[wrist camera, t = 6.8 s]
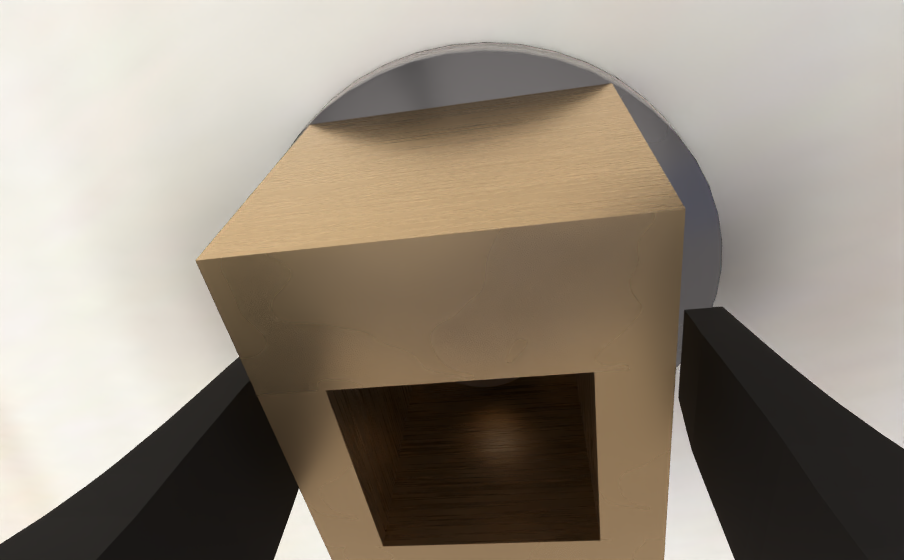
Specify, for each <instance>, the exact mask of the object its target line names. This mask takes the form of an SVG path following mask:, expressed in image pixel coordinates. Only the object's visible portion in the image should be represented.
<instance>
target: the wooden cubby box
mask: <svg viewBox="0 0 904 560" xmlns="http://www.w3.org/2000/svg"><path fill="white" fill-rule="evenodd" d="M685 210H686V209H685V207H684V205H683V204H682V202H681V200H680V199H679V197H678V195H677V194H676V192H675V190H674V188H673V187H672V185H671V183H670V182H669V180H668V178H667V176H666V175H665V173H664V171H663V170H662V168H661V166H660V164H659V163H658V161H657V159H656V158H655V156H654V154H653V153H652V151H651V149H650V147H649V146H648V144H647V142H646V141H645V139H644V137H643V135H642V134H641V132H640V130H639V129H638V127H637V125H636V123H635V122H634V120H633V118H632V117H631V115H630V113H629V112H628V110H627V108H626V106H625V105H624V103H623V101H622V100H621V98H620V96H619V94H618V93H617V91H616V89H615V88H614V86H613V84H612V83H608V84H601V85H593V86H586V87H579V88H571V89H564V90H557V91H550V92H542V93H535V94H528V95H520V96H513V97H506V98H499V99H491V100H484V101H477V102H470V103H462V104H455V105H448V106H440V107H433V108H426V109H419V110H411V111H404V112H397V113H389V114H382V115H375V116H368V117H360V118H353V119H346V120H338V121H331V122H324V123H317V124H310V125H309V126H308V128H307V129H306V130H305V131H304V132H303V133H302V135H301V136H300V137H299V138H298V139H297V141H296V142H295V143H294V144H293V145H292V147H291V148H290V149H289V150H288V151H287V152H286V154H285V155H284V156H283V157H282V158H281V160H280V161H279V162H278V163H277V164H276V166H275V167H274V168H273V169H272V170H271V171H270V173H269V174H268V175H267V176H266V177H265V179H264V180H263V181H262V182H261V183H260V185H259V186H258V187H257V188H256V189H255V190H254V192H253V193H252V194H251V195H250V196H249V198H248V199H247V200H246V201H245V202H244V204H243V205H242V206H241V207H240V208H239V209H238V211H237V212H236V213H235V214H234V215H233V217H232V218H231V219H230V220H229V221H228V223H227V224H226V225H225V226H224V227H223V228H222V230H221V231H220V232H219V233H218V234H217V236H216V237H215V238H214V239H213V240H212V242H211V243H210V244H209V245H208V246H207V247H206V249H205V250H204V251H203V252H202V253H201V255H200V256H199V257H198V258H197V259H196V263H197V265H198V267H199V269H200V271H201V274H202V276H203V278H204V280H205V282H206V285H207V287H208V289H209V291H210V293H211V296H212V298H213V300H214V302H215V304H216V307H217V309H218V311H219V313H220V315H221V318H222V320H223V322H224V324H225V326H226V329H227V331H228V333H229V335H230V337H231V339H232V342H233V344H234V346H235V348H236V350H237V353H238V355H239V357H240V359H241V361H242V364H243V366H244V368H245V370H246V372H247V375H248V377H249V379H250V381H251V383H252V386H253V388H254V390H255V392H256V394H257V397H258V399H259V401H260V403H261V405H262V407H263V410H264V412H265V414H266V416H267V418H268V421H269V423H270V425H271V427H272V429H273V432H274V434H275V436H276V438H277V440H278V443H279V445H280V447H281V449H282V451H283V454H284V456H285V458H286V460H287V462H288V465H289V467H290V469H291V471H292V473H293V475H294V478H295V480H296V482H297V484H298V486H299V489H300V491H301V493H302V495H303V497H304V500H305V502H306V504H307V506H308V508H309V511H310V513H311V515H312V517H313V519H314V522H315V524H316V526H317V528H318V530H319V533H320V535H321V537H322V539H323V541H324V543H325V546H326V548H327V550H328V552H329V554H330V557H331V559H332V560H664V552H665V535H666V519H667V503H668V487H669V470H670V454H671V438H672V421H673V405H674V389H675V373H676V356H677V340H678V324H679V308H680V291H681V275H682V259H683V242H684V226H685ZM515 377H519V378H517V379H516V380H513V381H511V382H509V383H506V384H502V385H498V386H491V387H474V386H468V385H463V384H460V383H457V381H471V380H486V379H501V378H515Z"/></svg>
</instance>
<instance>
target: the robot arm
mask: <svg viewBox="0 0 904 560" xmlns="http://www.w3.org/2000/svg"><path fill="white" fill-rule="evenodd" d="M678 398H679V402H680V406H681V410H682V414H683V418H684V422H685V426H686V430H687V434H688V437H689V441H690V445H691V449H692V452H693V455H694V457H695V460H696V462H697V465H698V468H699V470H700V473H701V475H702V478H703V480H704V483H705V486H706V488H707V491H708V493H709V496H710V498H711V501H712V503H713V506H714V508H715V511H716V513H717V516H718V518H719V521H720V523H721V526H722V528H723V531H724V534H725V536H726V539H727V541H728V544H729V546H730V549H731V551H732V554H733V556H734V559H735V560H904V449H903V448H902V447H900V446H899V445H897V444H896V443H894V442H893V441H891V440H890V439H888V438H887V437H885V436H884V435H882V434H881V433H879V432H878V431H877V430H875V429H874V428H872V427H871V426H870V425H868V424H867V423H865V422H864V421H863V420H861V419H860V418H858V417H857V416H856V415H854V414H853V413H851V412H850V411H849V410H847V409H846V408H844V407H843V406H842V405H840V404H839V403H838V402H836V401H835V400H834V399H832V398H831V397H830V396H828V395H827V394H826V393H825V392H823V391H822V390H821V389H820V388H818V387H817V386H816V385H815V384H813V383H812V382H811V381H809V380H808V379H807V378H806V377H804V376H803V375H802V374H801V373H799V372H798V371H797V370H796V369H794V368H793V367H792V366H791V365H790V364H788V363H787V362H786V361H785V360H784V359H782V358H781V357H780V356H779V355H778V354H777V353H775V352H774V351H773V350H772V349H771V348H770V347H768V346H767V345H766V344H765V343H764V342H762V341H761V340H760V339H759V338H758V337H757V336H756V335H754V334H753V333H752V332H751V331H750V330H749V329H747V328H746V327H745V326H744V325H743V324H742V323H741V322H739V321H738V320H737V319H736V318H735V317H734V316H732V315H731V314H730V313H729V312H728V311H727V310H725V309H724V308H723V307H712V308H700V309H687V310H684V321H683V336H682V351H681V366H680V381H679V396H678ZM298 489H299V486H298V484H297V482H296V480H295V478H294V475H293V473H292V471H291V469H290V467H289V465H288V462H287V460H286V458H285V456H284V454H283V451H282V449H281V447H280V445H279V443H278V440H277V438H276V436H275V434H274V432H273V429H272V427H271V425H270V423H269V421H268V418H267V416H266V414H265V412H264V410H263V407H262V405H261V403H260V401H259V399H258V397H257V394H256V392H255V390H254V388H253V386H252V383H251V381H250V379H249V377H248V375H247V372H246V370H245V368H244V366H243V364H242V361H241V359H240V357H238V358H237V359H236V360H235V361H234V362H233V363H232V364H230V365H229V366H228V367H227V368H226V369H225V370H224V371H223V372H221V373H220V374H219V375H218V376H217V377H216V378H215V379H214V380H212V381H211V382H210V383H209V384H208V385H207V386H206V387H205V388H204V389H202V390H201V391H200V392H199V393H198V394H197V395H196V396H195V397H193V398H192V399H191V400H190V401H189V402H188V403H187V404H186V405H184V406H183V407H182V408H181V409H180V410H179V411H178V412H177V413H175V414H174V415H173V416H172V417H171V418H170V419H169V420H168V421H166V422H165V423H164V424H163V425H162V426H160V427H159V428H158V429H157V430H156V431H154V432H153V433H152V434H151V435H150V436H148V437H147V438H146V439H145V440H143V441H142V442H141V443H140V444H139V445H137V446H136V447H135V448H134V449H133V450H131V451H130V452H129V453H128V454H127V455H125V456H124V457H123V458H122V459H121V460H119V461H118V462H117V463H116V464H114V465H113V466H112V467H111V468H109V469H108V470H107V471H105V472H104V473H103V474H102V475H100V476H99V477H98V478H96V479H95V480H94V481H92V482H91V483H90V484H88V485H87V486H86V487H84V488H83V489H81V490H80V491H79V492H77V493H76V494H74V495H73V496H72V497H70V498H69V499H67V500H66V501H65V502H63V503H62V504H60V505H59V506H58V507H56V508H55V509H53V510H52V511H50V512H49V513H48V514H46V515H45V516H43V517H42V518H40V519H39V520H37V521H36V522H34V523H32V524H31V525H29V526H28V527H26V528H25V529H23V530H22V531H20V532H18V533H17V534H15V535H14V536H12V537H11V538H9V539H8V540H6V541H4V542H3V543H1V544H0V560H274V557H275V554H276V552H277V549H278V546H279V543H280V540H281V538H282V535H283V532H284V529H285V526H286V524H287V521H288V518H289V515H290V512H291V510H292V507H293V504H294V501H295V498H296V495H297V492H298Z"/></svg>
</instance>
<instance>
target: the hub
mask: <svg viewBox="0 0 904 560" xmlns="http://www.w3.org/2000/svg"><path fill="white" fill-rule="evenodd" d="M608 83H612V84H613V86H614V88H615V89H616V91H617V93H618V94H619V96H620V98H621V100H622V101H623V103H624V105H625V106H626V108H627V110H628V112H629V113H630V115H631V117H632V118H633V120H634V122H635V123H636V125H637V127H638V129H639V130H640V132H641V134H642V135H643V137H644V139H645V141H646V142H647V144H648V146H649V147H650V149H651V151H652V153H653V154H654V156H655V158H656V159H657V161H658V163H659V164H660V166H661V168H662V170H663V171H664V173H665V175H666V176H667V178H668V180H669V182H670V183H671V185H672V187H673V188H674V190H675V192H676V194H677V195H678V197H679V199H680V200H681V202H682V204H683V205H684V207H685V209H686V210H685V226H684V242H683V259H682V275H681V291H680V308H679V324H678V340H677V356H676V367H677V366H678V365H679V364H680V363H681V351H682V336H683V321H684V310H687V309H700V308H712V306H713V303H714V300H715V297H716V294H717V289H718V284H719V278H720V273H721V261H722V238H721V231H720V224H719V217H718V212H717V209H716V206H715V203H714V200H713V197H712V193H711V190H710V187H709V185H708V183H707V181H706V179H705V177H704V175H703V173H702V171H701V169H700V167H699V165H698V163H697V161H696V159H695V158H694V157H693V155H692V154H691V153H690V151H689V150H688V148H687V147H686V146H685V144H684V143H683V142H682V140H681V139H680V138H679V136H678V135H677V134H676V132H675V131H674V129H673V128H672V127H671V125H670V124H669V123H668V121H667V120H666V119H665V118H664V117H663V116H662V115H661V114H660V113H659V112H658V111H657V110H656V109H655V108H654V107H653V106H652V105H651V104H650V103H649V102H648V101H647V100H646V99H645V98H644V97H642V96H641V95H640V94H638V93H637V92H635V91H634V90H633V89H631V88H630V87H629V86H627V85H626V84H624V83H623V82H622V81H620V80H619V79H618V78H616V77H614V76H612V75H610V74H608V73H606V72H604V71H602V70H600V69H598V68H596V67H595V66H593V65H591V64H589V63H587V62H584V61H581V60H578V59H575V58H572V57H569V56H567V55H564V54H561V53H558V52H555V51H550V50H545V49H540V48H535V47H530V46H525V45H519V44H502V43H473V44H461V45H450V46H445V47H441V48H436V49H432V50H427V51H423V52H418V53H415V54H412V55H410V56H407V57H404V58H402V59H399V60H396V61H394V62H391V63H388V64H386V65H384V66H382V67H380V68H378V69H376V70H375V71H373V72H371V73H369V74H367V75H366V76H364V77H362V78H360V79H358V80H357V81H355V82H354V83H353V84H351V85H350V86H349V87H347V88H346V89H345V90H343V91H342V92H341V93H339V94H338V95H337V96H335V97H334V98H333V99H332V100H331V101H330V102H329V103H328V104H327V105H326V106H325V107H324V108H323V109H322V110H321V111H320V112H319V113H318V114H317V115H316V116H315V117H314V118H313V119H312V120H311V121H310V122H309V124H308V125H307V126H306V127H305V128H304V129H303V131H302V132H301V133H300V134H299V136H298V137H297V138H296V140H295V141H294V143H295V142H296V141H297V139H298V138H299V137H300V136H301V135H302V133H303V132H304V131H305V130H306V129H307V128H308V126H309V125H310V124H317V123H324V122H331V121H338V120H346V119H353V118H360V117H368V116H375V115H382V114H389V113H397V112H404V111H411V110H419V109H426V108H433V107H440V106H448V105H455V104H462V103H470V102H477V101H484V100H491V99H499V98H506V97H513V96H520V95H528V94H535V93H542V92H550V91H557V90H564V89H571V88H579V87H586V86H593V85H601V84H608ZM294 143H293V144H294ZM293 144H292V145H293ZM292 145H291V147H292ZM291 147H290V148H291ZM290 148H289V149H290ZM517 378H519V377H515V378H501V379H486V380H471V381H457V383H460V384H463V385H468V386H474V387H491V386H498V385H502V384H506V383H509V382H511V381H513V380H516V379H517Z"/></svg>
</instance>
